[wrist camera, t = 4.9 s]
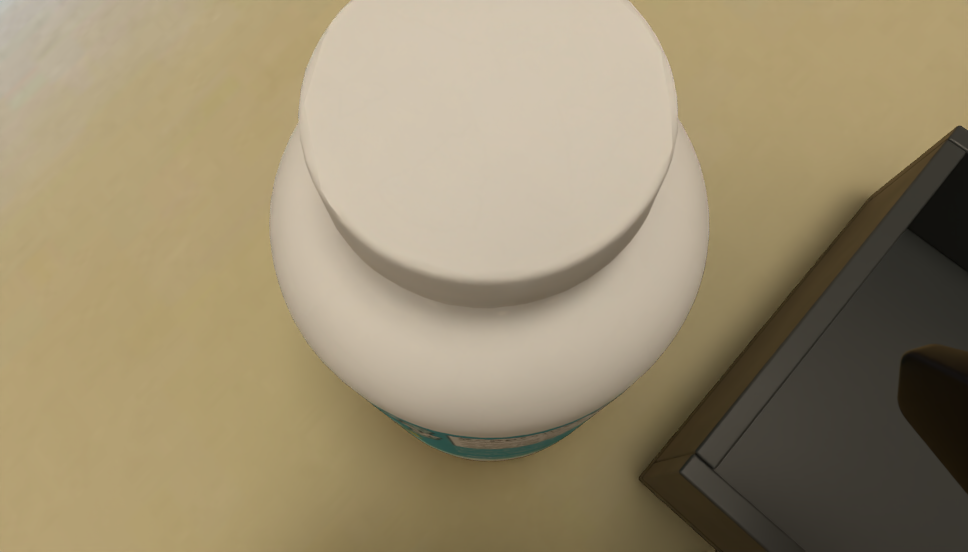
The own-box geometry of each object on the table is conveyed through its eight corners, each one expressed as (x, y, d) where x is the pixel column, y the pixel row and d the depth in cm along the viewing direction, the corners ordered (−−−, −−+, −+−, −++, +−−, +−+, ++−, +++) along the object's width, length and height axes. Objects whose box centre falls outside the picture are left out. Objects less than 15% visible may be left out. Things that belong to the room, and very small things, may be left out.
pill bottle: (348, 259, 22) (148, -81, 9) (569, 204, 23) (672, -189, 10) (398, 496, 20) (226, 483, 7) (643, 429, 20) (906, 301, 7)
